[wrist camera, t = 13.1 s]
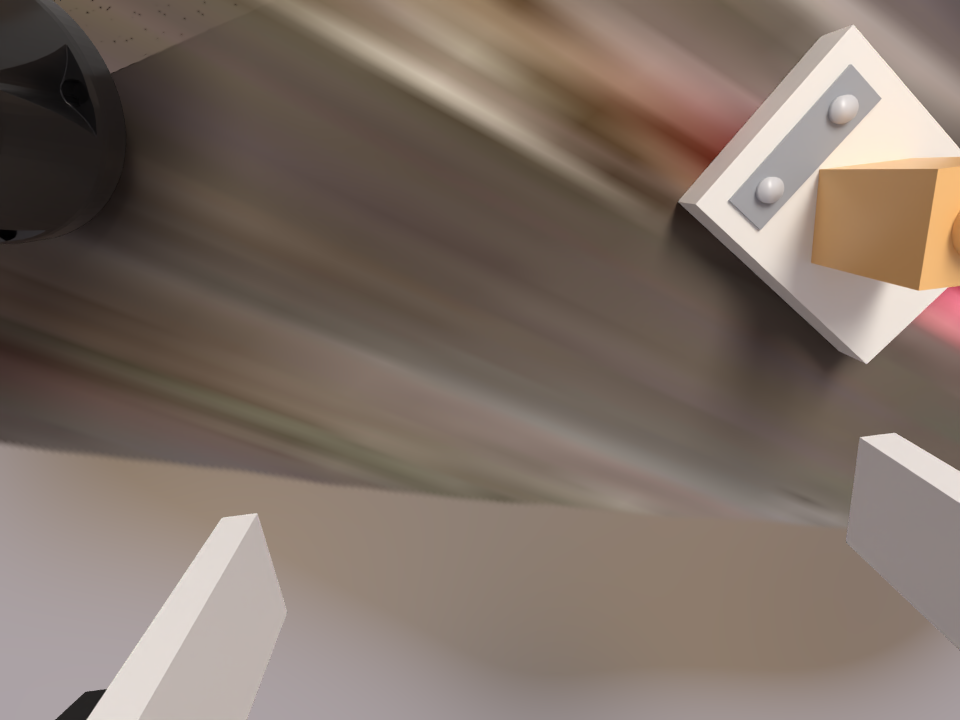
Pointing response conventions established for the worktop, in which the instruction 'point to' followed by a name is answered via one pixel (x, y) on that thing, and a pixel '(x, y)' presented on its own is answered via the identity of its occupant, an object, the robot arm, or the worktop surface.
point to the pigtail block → (794, 183)
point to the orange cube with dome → (891, 221)
